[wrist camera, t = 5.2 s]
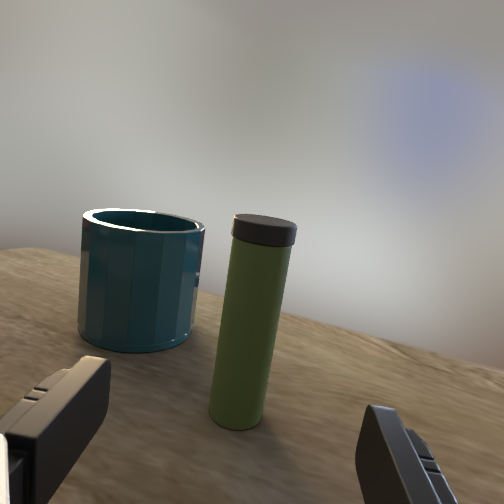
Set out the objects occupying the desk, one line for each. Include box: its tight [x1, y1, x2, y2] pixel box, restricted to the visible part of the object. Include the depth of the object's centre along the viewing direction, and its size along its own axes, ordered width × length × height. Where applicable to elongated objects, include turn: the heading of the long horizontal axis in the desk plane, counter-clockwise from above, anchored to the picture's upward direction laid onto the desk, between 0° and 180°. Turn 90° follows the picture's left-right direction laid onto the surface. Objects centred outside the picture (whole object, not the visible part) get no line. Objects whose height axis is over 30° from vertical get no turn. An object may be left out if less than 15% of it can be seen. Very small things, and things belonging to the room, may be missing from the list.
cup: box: [78, 209, 205, 353], centre depth 29 cm, size 8×8×8 cm
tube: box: [209, 214, 297, 430], centre depth 20 cm, size 3×3×11 cm
